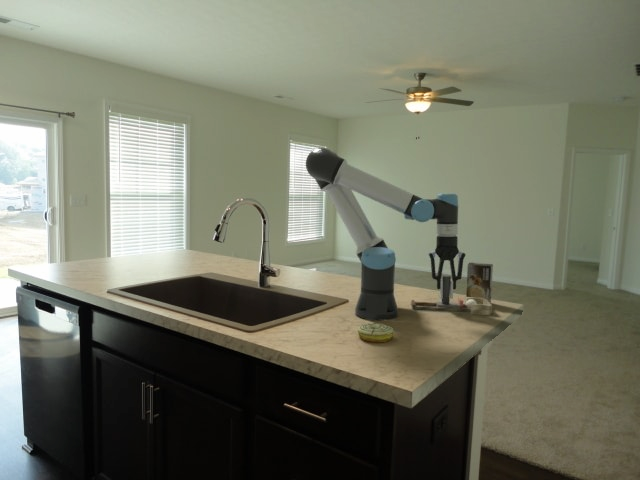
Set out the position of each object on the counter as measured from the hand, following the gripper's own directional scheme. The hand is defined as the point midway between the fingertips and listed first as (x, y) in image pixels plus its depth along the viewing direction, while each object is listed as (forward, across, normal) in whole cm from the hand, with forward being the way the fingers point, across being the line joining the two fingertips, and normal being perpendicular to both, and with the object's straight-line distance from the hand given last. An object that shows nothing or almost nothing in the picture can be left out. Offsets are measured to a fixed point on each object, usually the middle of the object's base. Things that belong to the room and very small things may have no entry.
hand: (446, 297), depth 170 cm
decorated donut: (+4, -26, -39) cm, 47 cm away
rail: (+4, -2, 0) cm, 5 cm away
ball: (+3, +9, 0) cm, 10 cm away
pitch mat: (+5, +1, 0) cm, 5 cm away
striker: (+4, +1, 0) cm, 4 cm away
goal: (+5, +12, 0) cm, 13 cm away
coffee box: (+5, +14, +12) cm, 19 cm away
